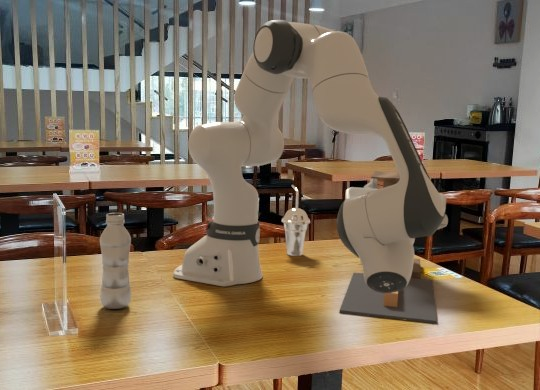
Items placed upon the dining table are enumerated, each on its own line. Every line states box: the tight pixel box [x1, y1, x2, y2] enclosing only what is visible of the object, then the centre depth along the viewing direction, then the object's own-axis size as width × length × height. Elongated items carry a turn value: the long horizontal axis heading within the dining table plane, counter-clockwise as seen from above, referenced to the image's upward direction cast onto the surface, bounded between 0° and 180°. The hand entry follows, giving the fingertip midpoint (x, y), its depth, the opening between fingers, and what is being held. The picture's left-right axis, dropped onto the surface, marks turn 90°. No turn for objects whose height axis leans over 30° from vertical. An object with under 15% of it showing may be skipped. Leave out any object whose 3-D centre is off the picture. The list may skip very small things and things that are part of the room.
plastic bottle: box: [99, 212, 133, 310], centre depth 123 cm, size 6×7×20 cm
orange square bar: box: [383, 292, 398, 307], centre depth 138 cm, size 3×20×3 cm, turn 168°
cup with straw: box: [281, 184, 311, 257], centre depth 173 cm, size 8×9×20 cm
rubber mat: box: [338, 272, 437, 324], centre depth 138 cm, size 20×30×1 cm, turn 166°
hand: (396, 182), depth 125 cm, fingers open, 8 cm apart
